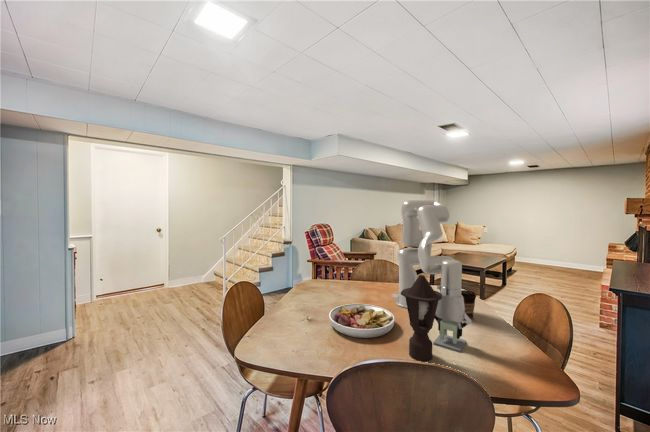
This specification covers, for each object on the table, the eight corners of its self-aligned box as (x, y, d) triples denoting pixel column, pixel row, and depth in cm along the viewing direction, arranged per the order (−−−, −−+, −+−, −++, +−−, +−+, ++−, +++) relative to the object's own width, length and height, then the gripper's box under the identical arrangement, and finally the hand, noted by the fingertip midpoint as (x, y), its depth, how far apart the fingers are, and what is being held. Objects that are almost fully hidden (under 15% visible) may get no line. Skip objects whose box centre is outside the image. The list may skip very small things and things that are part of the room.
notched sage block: (439, 339, 112) (440, 322, 112) (444, 333, 117) (444, 317, 117) (456, 343, 108) (456, 326, 108) (459, 337, 113) (459, 320, 113)
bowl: (356, 308, 151) (356, 294, 151) (406, 325, 130) (407, 309, 129) (315, 325, 130) (315, 308, 130) (367, 349, 109) (367, 329, 108)
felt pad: (433, 344, 112) (433, 342, 112) (440, 335, 120) (440, 333, 120) (460, 352, 106) (460, 350, 106) (466, 342, 114) (466, 340, 114)
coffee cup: (478, 322, 133) (479, 295, 132) (459, 320, 135) (460, 294, 134) (472, 315, 141) (473, 289, 141) (455, 313, 143) (455, 288, 143)
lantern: (450, 366, 97) (451, 280, 95) (408, 368, 96) (409, 281, 94) (430, 344, 112) (431, 270, 110) (394, 346, 110) (395, 271, 109)
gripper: (426, 289, 114) (425, 332, 115) (473, 298, 104) (471, 345, 104) (431, 285, 120) (430, 326, 121) (476, 292, 110) (475, 337, 110)
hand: (449, 334), depth 113 cm, fingers closed on notched sage block, 6 cm apart
